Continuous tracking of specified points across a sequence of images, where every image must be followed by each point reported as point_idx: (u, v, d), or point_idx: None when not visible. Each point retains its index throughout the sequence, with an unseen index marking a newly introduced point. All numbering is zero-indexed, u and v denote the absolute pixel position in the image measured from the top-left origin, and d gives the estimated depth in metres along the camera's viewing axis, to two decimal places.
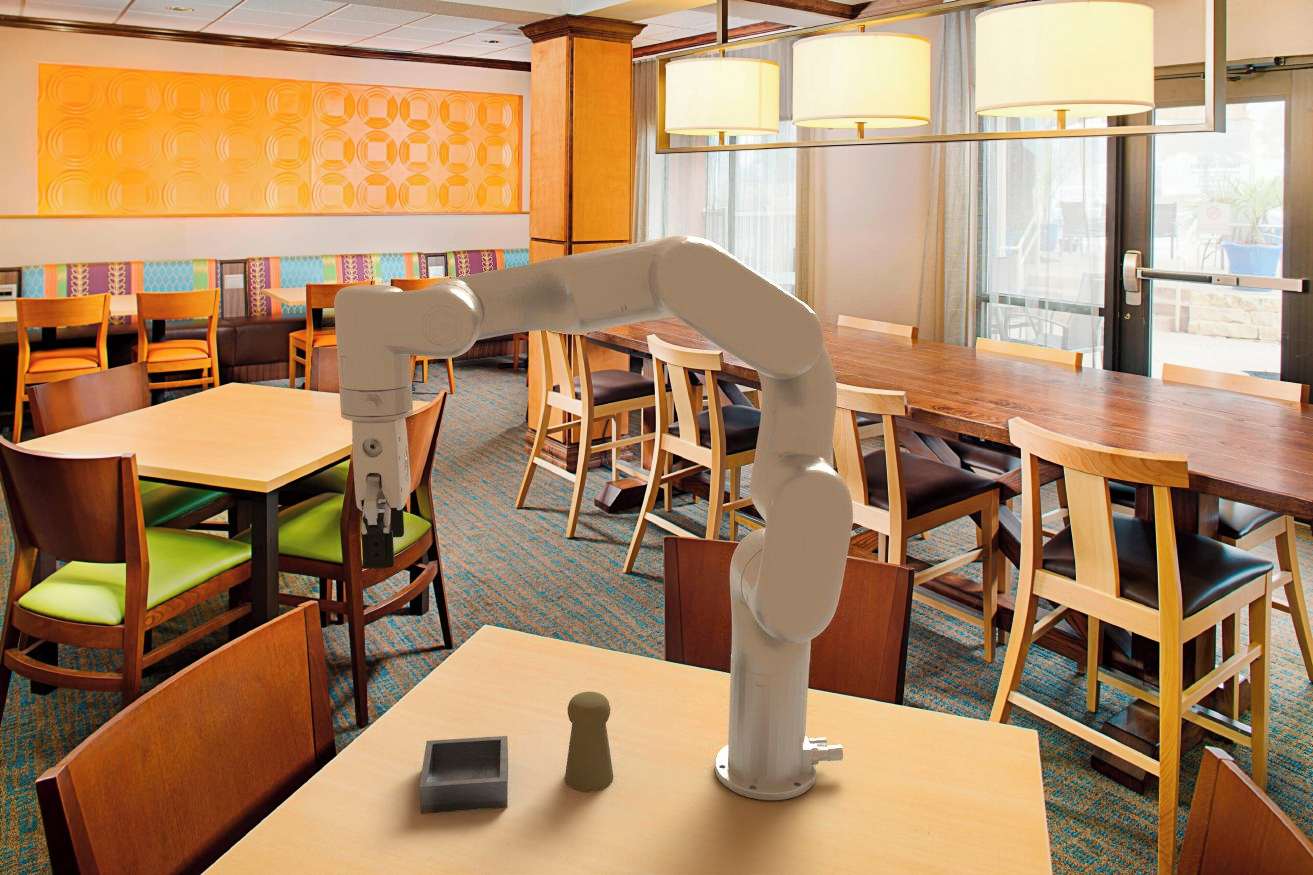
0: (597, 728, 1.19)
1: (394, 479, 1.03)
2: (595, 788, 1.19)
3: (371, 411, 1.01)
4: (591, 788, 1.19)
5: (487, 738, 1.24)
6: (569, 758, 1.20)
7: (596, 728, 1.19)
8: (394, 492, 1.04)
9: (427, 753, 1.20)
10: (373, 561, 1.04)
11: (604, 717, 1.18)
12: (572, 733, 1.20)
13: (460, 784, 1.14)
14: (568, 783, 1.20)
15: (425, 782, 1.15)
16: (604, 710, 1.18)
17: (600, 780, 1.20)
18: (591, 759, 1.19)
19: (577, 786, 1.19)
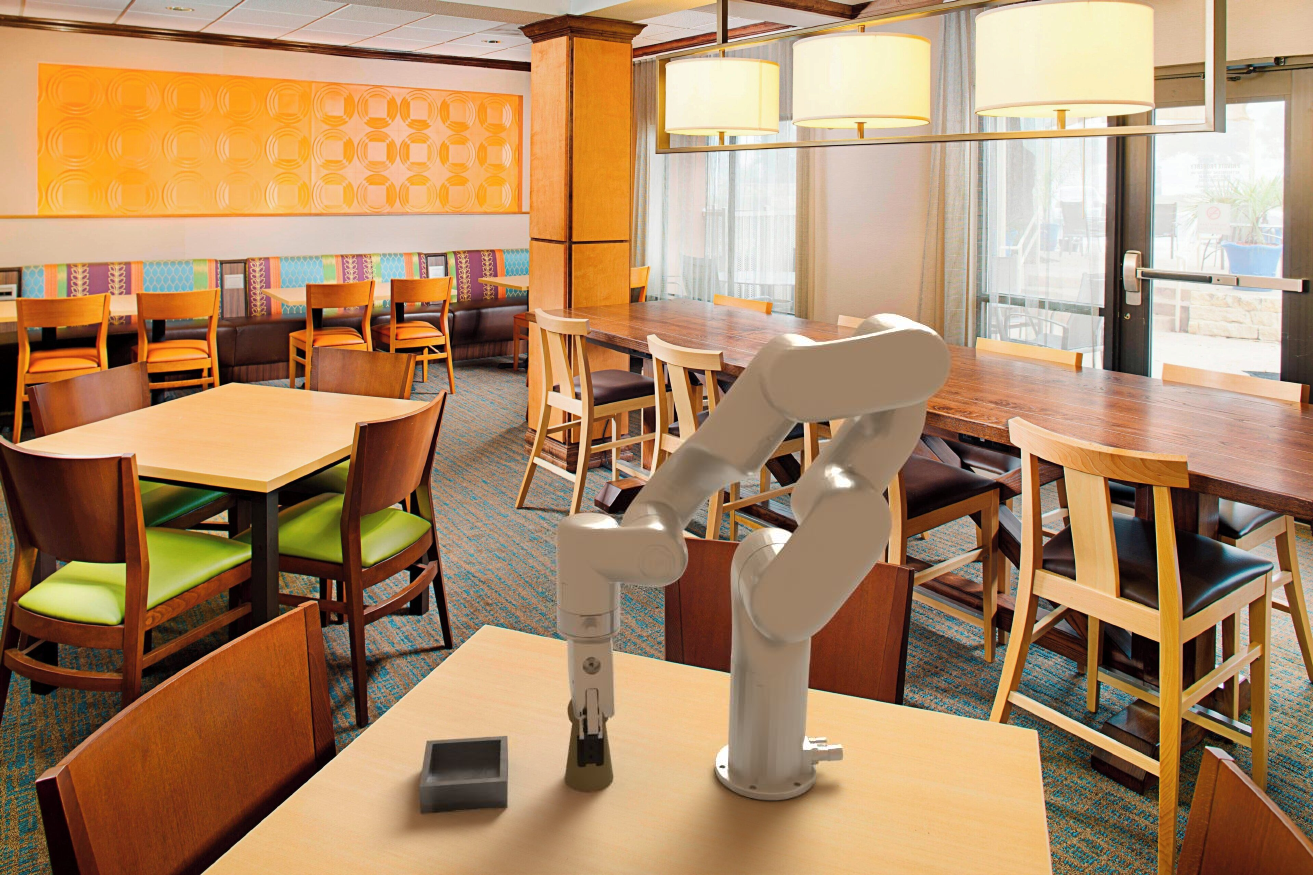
0: None
1: (609, 692, 1.14)
2: (595, 788, 1.19)
3: (593, 635, 1.12)
4: (591, 788, 1.19)
5: (487, 738, 1.24)
6: (569, 758, 1.20)
7: None
8: (609, 703, 1.15)
9: (427, 753, 1.20)
10: (587, 762, 1.18)
11: (604, 717, 1.18)
12: (572, 733, 1.20)
13: (460, 784, 1.14)
14: (568, 783, 1.20)
15: (425, 782, 1.15)
16: None
17: (600, 780, 1.20)
18: None
19: (577, 786, 1.19)
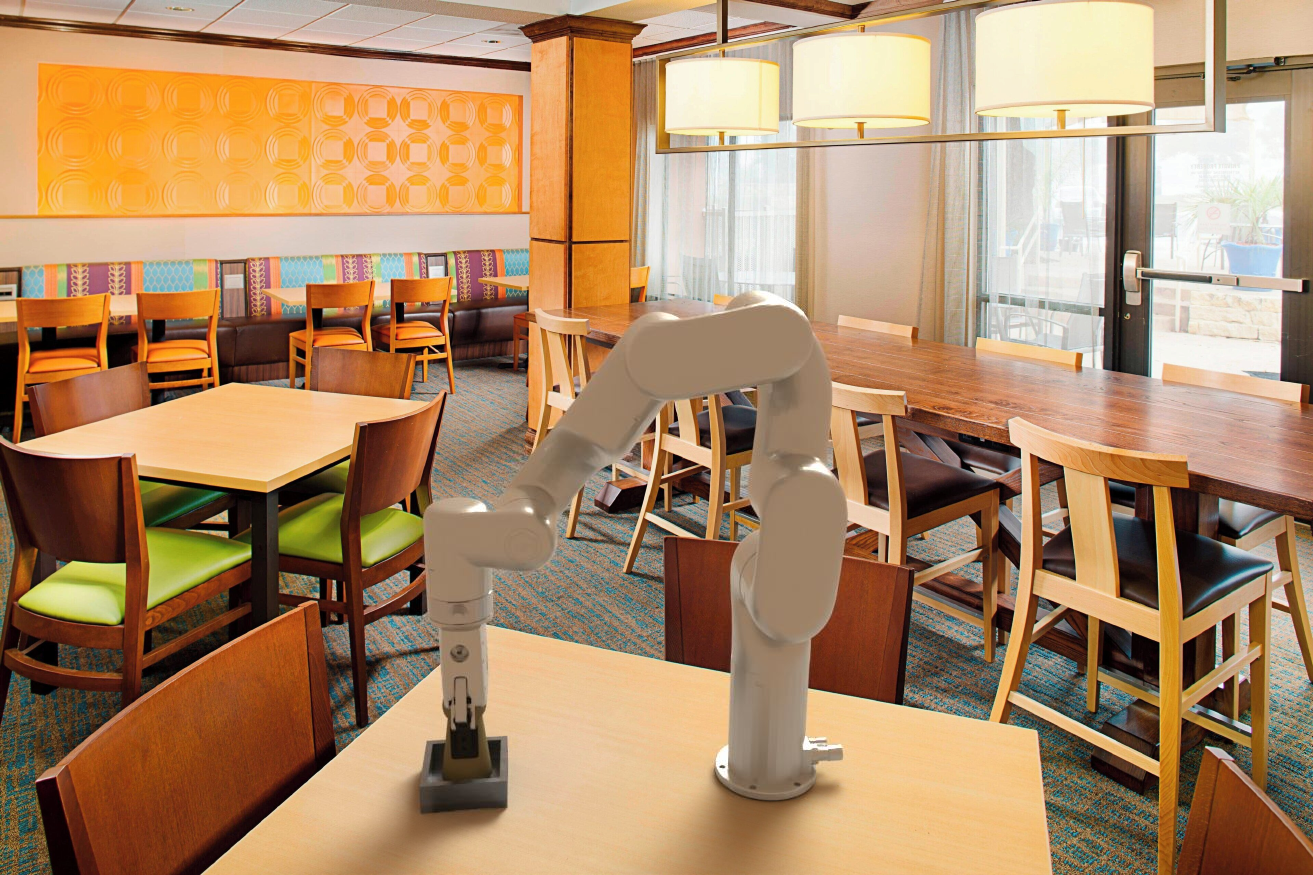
0: None
1: (479, 681, 1.12)
2: None
3: (459, 622, 1.10)
4: None
5: (487, 738, 1.24)
6: (444, 752, 1.18)
7: None
8: (479, 692, 1.12)
9: (427, 753, 1.20)
10: (461, 754, 1.15)
11: (478, 711, 1.16)
12: (447, 727, 1.17)
13: (460, 784, 1.14)
14: (443, 778, 1.18)
15: (425, 782, 1.15)
16: None
17: (475, 775, 1.17)
18: None
19: None
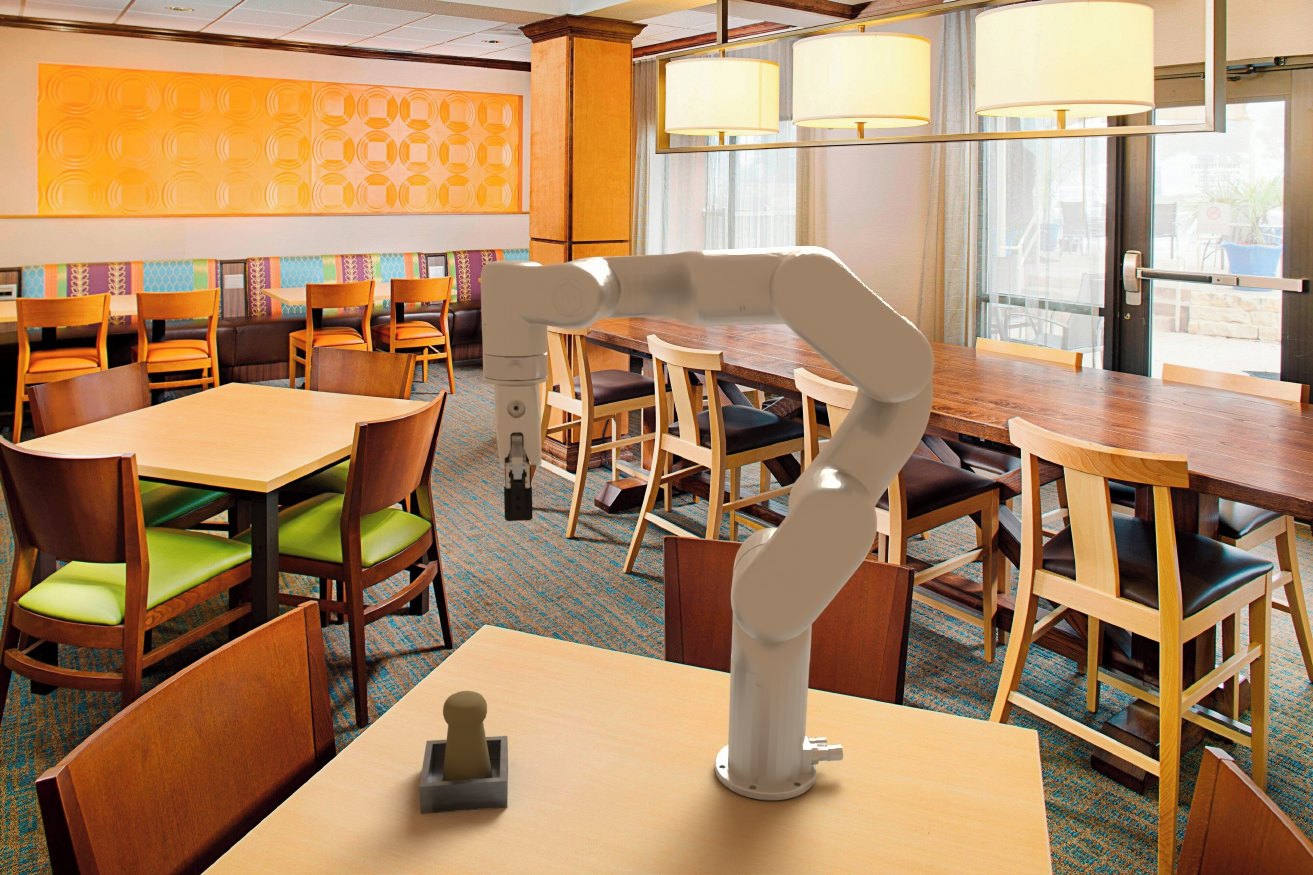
0: (471, 728, 1.16)
1: (535, 438, 1.13)
2: None
3: (517, 375, 1.10)
4: None
5: (487, 738, 1.24)
6: (445, 758, 1.18)
7: (470, 728, 1.16)
8: (535, 450, 1.13)
9: (427, 753, 1.20)
10: (515, 514, 1.14)
11: (478, 717, 1.16)
12: (447, 733, 1.18)
13: (460, 784, 1.14)
14: None
15: (425, 782, 1.15)
16: (478, 710, 1.16)
17: None
18: (465, 760, 1.17)
19: None
